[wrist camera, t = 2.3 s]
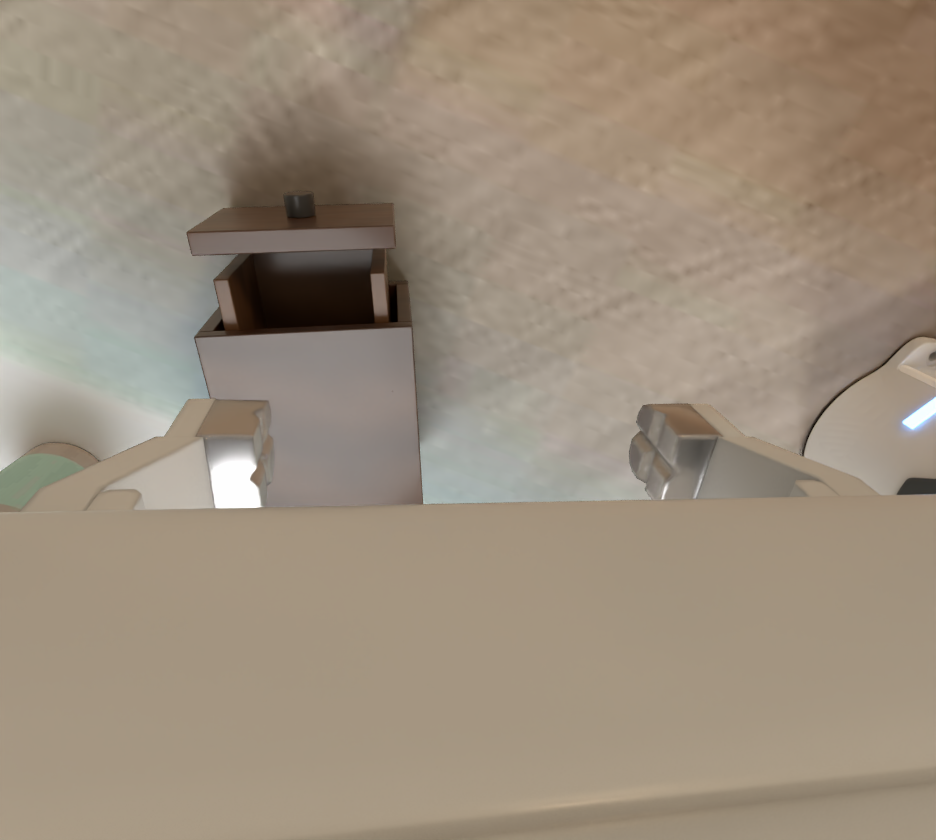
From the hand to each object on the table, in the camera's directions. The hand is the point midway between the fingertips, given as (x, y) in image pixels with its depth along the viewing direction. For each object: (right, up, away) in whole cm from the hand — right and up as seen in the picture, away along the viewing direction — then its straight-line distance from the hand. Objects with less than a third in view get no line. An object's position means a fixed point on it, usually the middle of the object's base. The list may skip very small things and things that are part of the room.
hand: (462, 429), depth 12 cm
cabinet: (-10, +4, +30) cm, 31 cm away
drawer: (-10, +9, +26) cm, 29 cm away
